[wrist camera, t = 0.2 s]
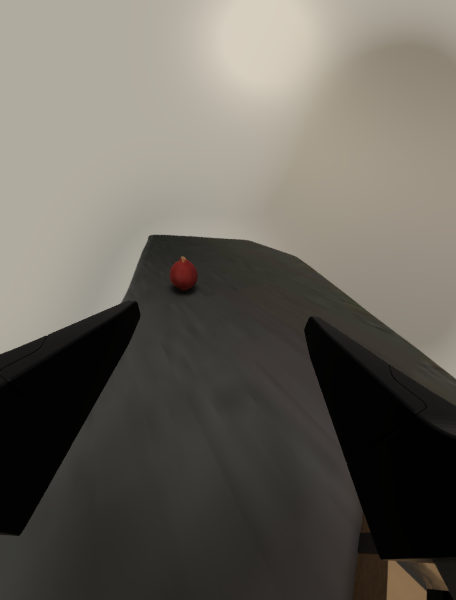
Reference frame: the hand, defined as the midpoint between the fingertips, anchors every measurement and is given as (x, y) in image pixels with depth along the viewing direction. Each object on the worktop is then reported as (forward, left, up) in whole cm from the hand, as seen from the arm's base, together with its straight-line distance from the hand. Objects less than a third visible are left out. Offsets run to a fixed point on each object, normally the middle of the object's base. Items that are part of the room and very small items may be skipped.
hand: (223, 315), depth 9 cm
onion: (+27, +8, -17) cm, 32 cm away
